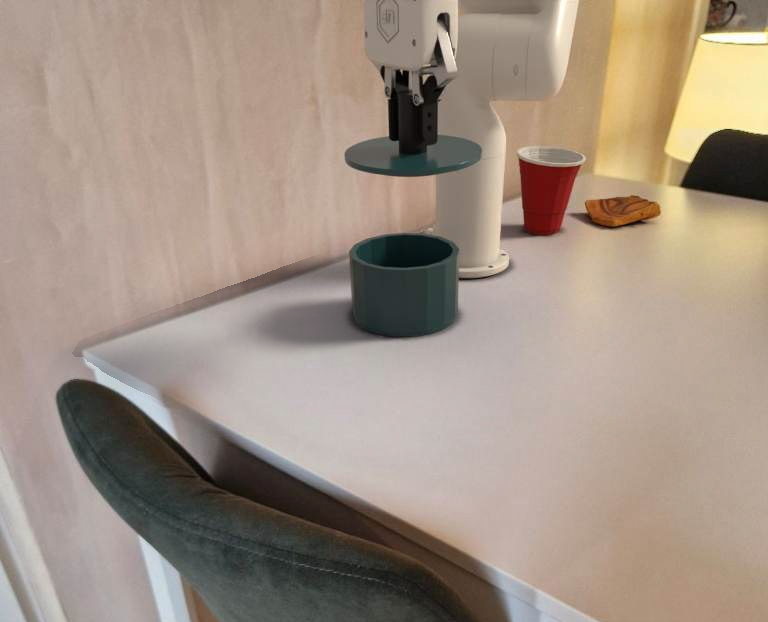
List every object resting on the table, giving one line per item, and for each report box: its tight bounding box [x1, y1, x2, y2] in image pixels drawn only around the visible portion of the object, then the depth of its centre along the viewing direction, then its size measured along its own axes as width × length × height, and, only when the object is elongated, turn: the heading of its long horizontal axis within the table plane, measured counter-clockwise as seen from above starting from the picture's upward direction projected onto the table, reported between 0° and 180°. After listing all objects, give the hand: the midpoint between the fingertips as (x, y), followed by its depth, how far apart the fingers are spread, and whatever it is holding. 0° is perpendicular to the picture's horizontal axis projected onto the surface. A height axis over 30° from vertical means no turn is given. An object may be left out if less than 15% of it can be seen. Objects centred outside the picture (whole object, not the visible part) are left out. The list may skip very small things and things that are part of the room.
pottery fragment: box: [584, 194, 662, 228], centre depth 129 cm, size 10×5×10 cm
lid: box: [344, 90, 482, 178], centre depth 79 cm, size 15×15×7 cm
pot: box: [348, 232, 460, 338], centre depth 98 cm, size 14×14×8 cm
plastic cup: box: [516, 145, 587, 236], centre depth 123 cm, size 11×11×12 cm
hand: (413, 140), depth 80 cm, fingers closed on lid, 3 cm apart
